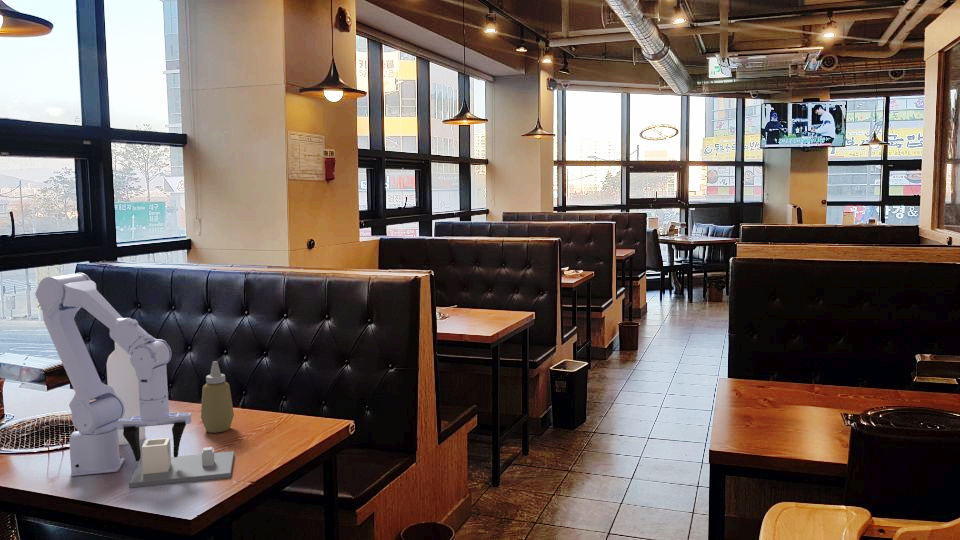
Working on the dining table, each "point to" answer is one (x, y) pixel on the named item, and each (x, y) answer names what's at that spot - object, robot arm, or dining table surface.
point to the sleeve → (156, 455)
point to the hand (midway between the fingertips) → (157, 457)
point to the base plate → (188, 469)
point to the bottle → (124, 386)
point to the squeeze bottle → (216, 402)
